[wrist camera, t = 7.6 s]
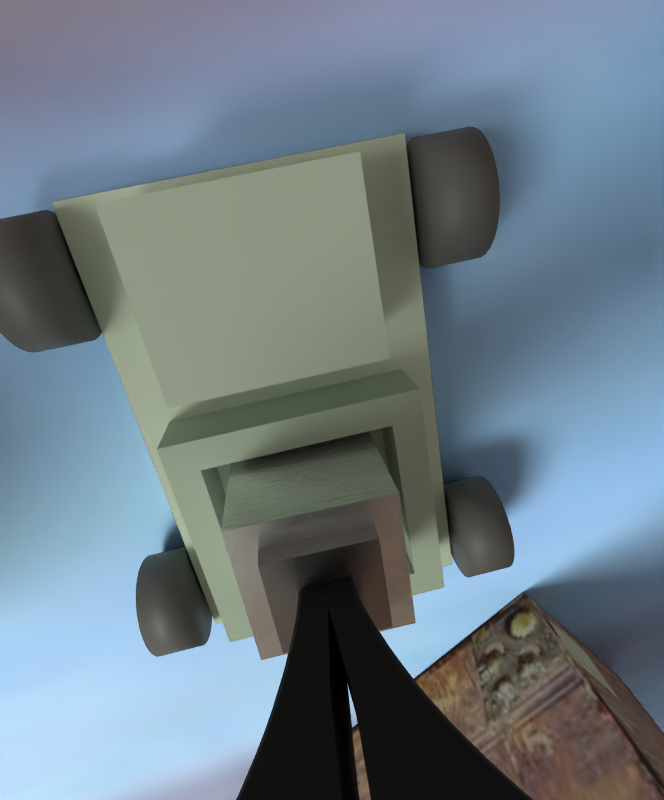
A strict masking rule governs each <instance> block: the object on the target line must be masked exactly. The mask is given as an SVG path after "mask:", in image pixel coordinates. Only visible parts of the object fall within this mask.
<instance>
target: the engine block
mask: <svg viewBox="0 0 664 800" xmlns="http://www.w3.org/2000/svg"><path fill="white" fill-rule="evenodd" d="M221 534H222V537H223V540H224V543H225V546H226V549H227V553H228V556H229V559H230V562H231V565H232V569H233V572H234V575H235V578H236V581H237V584H238V588H239V591H240V594H241V597H242V600H243V604H244V607H245V610H246V613H247V616H248V619H249V623H250V626H251V629H252V632H253V635H254V638H255V642H256V645H257V648H258V651H259V654H260V658H261V660H263V659H267V658H272V657H276V656H280V655H284V654H288V653H289V649H290V644H291V640H292V635H293V630H294V625H295V620H296V613H297V605H298V594H299V592H300V591H301V590H302V589H305V588H309V587H313V586H317V585H321V584H325V583H329V582H333V581H337V580H341V579H345V578H350V579H351V580H353V582H354V585H355V588H356V590H357V593H358V595H359V597H360V599H361V601H362V603H363V605H364V607H365V609H366V611H367V612H368V614H369V616H370V618H371V619H372V621H373V623H374V624H375V626H376V627H377V629H378V630H379V632H380V631H384V630H388V629H392V628H396V627H400V626H404V625H409V624H413V623H415V615H414V607H413V599H412V591H411V583H410V575H409V567H408V559H407V551H406V543H405V535H404V527H403V520H402V512H401V504H400V496H399V491H398V489H397V487H396V485H395V483H394V481H393V479H392V477H391V475H390V473H389V471H388V469H387V467H386V465H385V463H384V461H383V459H382V457H381V455H380V453H379V451H378V449H377V447H376V445H375V443H374V441H373V439H372V437H371V435H370V433H369V431H367V432H363V433H359V434H354V435H350V436H346V437H342V438H337V439H333V440H329V441H324V442H320V443H316V444H312V445H307V446H303V447H299V448H294V449H290V450H286V451H282V452H277V453H273V454H269V455H264V456H260V457H256V458H252V459H247V460H243V461H239V462H234V463H230V469H229V477H228V484H227V492H226V499H225V506H224V514H223V521H222V528H221Z"/></svg>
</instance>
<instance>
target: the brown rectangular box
mask: <svg viewBox="0 0 664 800" xmlns="http://www.w3.org/2000/svg"><path fill="white" fill-rule="evenodd" d="M414 680H415V682H416V683H417V684H418V685H419V686H420V688H421V689H422V690H423V691H424V692H425V694H426V695H427V696H428V697H429V698H430V699H431V701H432V702H433V703H434V704H435V705H436V706H437V707H438V709H439V710H440V711H441V712H442V713H443V714H444V715H445V716H446V717H447V718H448V719H449V720H450V722H451V723H452V724H453V725H454V726H455V727H456V728H457V729H458V730H459V731H460V732H461V733H462V734H463V735H464V736H465V737H466V738H467V739H468V740H469V741H470V742H471V743H472V744H473V745H474V746H475V747H476V748H477V749H478V750H479V751H480V752H481V753H482V754H483V755H484V756H485V757H486V758H487V759H488V760H489V761H490V762H491V763H493V764H494V765H495V766H496V767H497V768H498V769H499V770H500V771H501V772H503V773H504V774H505V775H506V776H507V777H508V778H509V779H510V780H511V781H512V782H514V783H515V784H516V785H517V786H518V787H519V788H520V789H522V790H523V791H524V792H525V793H526V794H527V795H529V796H530V797H531V798H532V799H533V800H664V733H663V732H662V730H661V729H660V728H659V726H658V725H657V724H656V723H655V721H654V720H653V719H652V718H651V716H650V715H649V714H648V712H647V711H646V710H645V709H644V707H643V706H642V705H641V704H640V702H639V701H638V700H637V698H636V697H635V696H634V695H633V693H632V692H631V691H630V690H629V688H628V687H627V686H626V684H625V683H624V682H623V681H622V679H621V678H620V677H619V676H618V675H617V674H616V673H615V672H614V671H612V670H611V669H610V668H609V667H608V666H607V665H606V664H605V663H603V662H602V661H601V660H600V659H599V658H598V657H597V656H595V655H594V654H593V653H592V652H591V651H590V650H589V649H588V648H586V647H585V646H584V645H583V644H582V643H581V642H580V641H579V640H577V639H576V638H575V637H574V636H573V635H572V634H571V633H569V632H568V631H567V630H566V629H565V628H564V627H563V626H562V625H560V624H559V623H558V622H557V621H556V620H555V619H554V618H552V617H551V616H550V615H549V614H548V613H547V612H546V611H545V610H543V609H542V608H541V607H540V606H539V605H538V604H537V603H535V602H534V601H533V600H532V599H531V598H530V597H529V596H527V595H525V594H522V595H520V596H519V597H518V598H516V599H515V600H514V601H513V602H511V603H510V604H509V605H508V606H506V607H505V608H504V609H503V610H501V611H500V612H499V613H498V614H496V615H495V616H494V617H492V618H491V619H490V620H489V621H487V622H486V623H485V624H484V625H482V626H481V627H480V628H479V629H477V630H476V631H475V632H474V633H472V634H471V635H470V636H468V637H467V638H466V639H465V640H463V641H462V642H461V643H460V644H458V645H457V646H456V647H455V648H453V649H452V650H451V651H450V652H448V653H447V654H446V655H444V656H443V657H442V658H441V659H439V660H438V661H437V662H436V663H434V664H433V665H432V666H431V667H429V668H428V669H427V670H426V671H424V672H423V673H422V674H420V675H419V676H418V677H417V678H415V679H414ZM352 733H353V743H354V753H355V763H356V773H357V783H358V790H359V798H360V800H371V797H370V791H369V785H368V779H367V773H366V767H365V762H364V756H363V750H362V744H361V738H360V733H359V727H358V724H357V725H356V726H355V727H354V728H352Z"/></svg>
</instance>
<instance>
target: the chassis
mask: <svg viewBox="0 0 664 800" xmlns="http://www.w3.org/2000/svg"><path fill="white" fill-rule="evenodd" d="M51 203H52V205H53V208H54V211H55V213H56V214H55V213H53V212H51V211H46V210H45V211H39V212H34V213H29V214H24V215H19V216H14V217H8V218H3V219H0V333H1V334H2V335H3V336H4V337H5V338H6V339H7V340H9V341H10V342H11V343H12V344H14V345H15V346H17V347H18V348H20V349H22V350H24V351H27V352H34V353H35V352H41V351H46V350H50V349H55V348H60V347H64V346H69V345H74V344H78V343H83V342H88V341H92V340H95V339H97V338H98V337H99V336H100V334H101V332H102V334H103V336H104V339H105V341H106V344H107V346H108V349H109V351H110V354H111V357H112V359H113V362H114V364H115V367H116V369H117V372H118V375H119V377H120V380H121V382H122V385H123V387H124V390H125V392H126V395H127V398H128V400H129V403H130V405H131V408H132V410H133V413H134V416H135V418H136V421H137V423H138V426H139V428H140V431H141V433H142V436H143V439H144V441H145V444H146V446H147V449H148V451H149V454H150V457H151V459H152V462H153V464H154V467H155V469H156V472H157V474H158V477H159V480H160V482H161V485H162V487H163V490H164V492H165V495H166V498H167V500H168V503H169V505H170V508H171V510H172V513H173V515H174V518H175V521H176V523H177V526H178V528H179V531H180V533H181V536H182V539H183V541H184V544H185V546H186V547H182V548H178V549H174V550H170V551H166V552H162V553H158V554H154V555H150V556H147V557H146V558H145V559H144V560H143V562H142V564H141V566H140V569H139V573H138V578H137V585H136V609H137V617H138V623H139V628H140V631H141V635H142V638H143V640H144V643H145V645H146V647H147V648H148V650H149V651H150V652H151V653H152V654H153V655H155V656H163V655H167V654H171V653H174V652H178V651H182V650H186V649H190V648H194V647H198V646H202V645H204V644H206V642H207V641H208V639H209V636H210V632H211V624H212V615H213V618H214V621H215V623H216V624H218V623H222V622H223V625H224V627H225V630H226V632H227V635H228V638H229V640H230V642H233V641H237V640H241V639H244V638H248V637H252V636H254V635H253V632H252V629H251V626H250V623H249V619H248V616H247V613H246V610H245V607H244V604H243V600H242V597H241V594H240V591H239V588H238V584H237V581H236V578H235V575H234V572H233V569H232V565H231V562H230V559H229V556H228V553H227V549H226V546H225V543H224V540H223V537H222V534H221V528H222V521H223V514H224V506H225V499H226V492H227V484H228V477H229V469H230V463H234V462H239V461H243V460H247V459H252V458H256V457H260V456H264V455H269V454H273V453H277V452H282V451H286V450H290V449H294V448H299V447H303V446H307V445H312V444H316V443H320V442H324V441H329V440H333V439H337V438H342V437H346V436H350V435H354V434H359V433H363V432H367V431H369V433H370V435H371V437H372V439H373V441H374V443H375V445H376V447H377V449H378V451H379V453H380V455H381V457H382V459H383V461H384V463H385V465H386V467H387V469H388V471H389V473H390V475H391V477H392V479H393V481H394V483H395V485H396V487H397V489H398V491H399V496H400V504H401V512H402V520H403V527H404V535H405V543H406V551H407V559H408V567H409V575H410V583H411V591H412V595H416V594H420V593H424V592H428V591H432V590H436V589H440V588H444V581H443V573H442V567H443V566H447V565H451V564H452V559H451V554H452V557H453V559H454V561H455V563H456V564H457V566H458V568H459V569H460V571H461V572H462V573H463V575H465V576H466V577H472V576H476V575H480V574H484V573H487V572H491V571H495V570H499V569H503V568H507V567H510V566H511V565H512V564H513V561H514V542H513V536H512V532H511V528H510V524H509V521H508V518H507V515H506V512H505V510H504V507H503V505H502V503H501V501H500V499H499V497H498V495H497V493H496V491H495V490H494V488H493V487H492V485H491V484H490V483H489V482H488V481H487V480H486V479H485V478H484V477H482V476H475V477H471V478H467V479H463V480H459V481H454V482H450V483H446V484H443V477H442V468H441V459H440V450H439V441H438V432H437V423H436V413H435V404H434V395H433V386H432V377H431V368H430V359H429V350H428V340H427V331H426V322H425V313H424V304H423V295H422V286H421V277H420V267H419V263H420V265H421V266H422V267H424V268H427V269H429V268H433V267H438V266H443V265H447V264H452V263H457V262H461V261H466V260H471V259H475V258H479V257H482V256H483V255H485V254H486V253H487V251H488V250H489V248H490V247H491V245H492V243H493V240H494V237H495V234H496V230H497V224H498V218H499V204H500V198H499V181H498V174H497V168H496V164H495V160H494V156H493V153H492V150H491V148H490V145H489V143H488V141H487V139H486V138H485V136H484V135H483V134H482V132H481V131H479V130H478V129H477V128H475V127H466V128H461V129H456V130H451V131H446V132H441V133H436V134H431V135H425V136H420V137H415V138H412V139H411V140H410V141H409V142H408V143H407V146H406V140H405V133H401V134H396V135H391V136H386V137H381V138H376V139H371V140H366V141H361V142H356V143H350V144H345V145H340V146H335V147H330V148H325V149H320V150H315V151H310V152H304V153H299V154H294V155H289V156H284V157H279V158H274V159H269V160H264V161H258V162H253V163H248V164H243V165H238V166H233V167H228V168H223V169H218V170H212V171H207V172H202V173H197V174H192V175H187V176H182V177H177V178H172V179H167V180H161V181H156V182H151V183H146V184H141V185H136V186H131V187H126V188H121V189H115V190H110V191H105V192H100V193H95V194H90V195H85V196H80V197H75V198H69V199H64V200H59V201H54V202H51Z"/></svg>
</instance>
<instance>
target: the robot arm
mask: <svg viewBox="0 0 664 800" xmlns="http://www.w3.org/2000/svg"><path fill="white" fill-rule="evenodd" d="M347 683H348V685H347ZM348 687H349V690H350V694H351V697H352V701H353V705H354V708H355V712H356V716H357V721H358V727H359V733H360V738H361V744H362V750H363V756H364V762H365V767H366V773H367V779H368V785H369V791H370V797H371V800H533V799H532V798H531V797H530V796H529V795H527V794H526V793H525V792H524V791H523V790H522V789H520V788H519V787H518V786H517V785H516V784H515V783H514V782H512V781H511V780H510V779H509V778H508V777H507V776H506V775H505V774H504V773H503V772H501V771H500V770H499V769H498V768H497V767H496V766H495V765H494V764H493V763H491V762H490V761H489V760H488V759H487V758H486V757H485V756H484V755H483V754H482V753H481V752H480V751H479V750H478V749H477V748H476V747H475V746H474V745H473V744H472V743H471V742H470V741H469V740H468V739H467V738H466V737H465V736H464V735H463V734H462V733H461V732H460V731H459V730H458V729H457V728H456V727H455V726H454V725H453V724H452V723H451V722H450V720H449V719H448V718H447V717H446V716H445V715H444V714H443V713H442V712H441V711H440V710H439V709H438V707H437V706H436V705H435V704H434V703H433V702H432V701H431V699H430V698H429V697H428V696H427V695H426V694H425V692H424V691H423V690H422V689H421V688H420V686H419V685H418V684H417V683H416V682H415V680H414V679H413V678H412V677H411V675H410V674H409V673H408V671H407V670H406V669H405V667H404V666H403V665H402V663H401V662H400V661H399V660H398V658H397V657H396V655H395V654H394V653H393V651H392V650H391V648H390V647H389V646H388V644H387V643H386V641H385V640H384V638H383V637H382V635H381V633H380V632H379V630H378V629H377V627H376V626H375V624H374V623H373V621H372V619H371V618H370V616H369V614H368V612H367V611H366V609H365V607H364V605H363V603H362V601H361V599H360V597H359V595H358V593H357V590H356V588H355V585H354V582H353V580H351V579H350V578H345V579H341V580H337V581H333V582H329V583H325V584H321V585H317V586H313V587H309V588H305V589H302V590H301V591H300V592H299V594H298V605H297V613H296V620H295V625H294V630H293V635H292V640H291V644H290V649H289V653H288V657H287V661H286V665H285V669H284V673H283V676H282V679H281V683H280V686H279V689H278V693H277V696H276V699H275V702H274V706H273V709H272V712H271V715H270V718H269V720H268V723H267V726H266V729H265V732H264V734H263V737H262V740H261V742H260V745H259V747H258V750H257V753H256V755H255V758H254V760H253V762H252V765H251V767H250V769H249V772H248V774H247V776H246V779H245V781H244V783H243V786H242V788H241V790H240V793H239V795H238V797H237V799H236V800H360V798H359V790H358V783H357V773H356V763H355V753H354V743H353V733H352V724H351V714H350V704H349V694H348Z"/></svg>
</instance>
